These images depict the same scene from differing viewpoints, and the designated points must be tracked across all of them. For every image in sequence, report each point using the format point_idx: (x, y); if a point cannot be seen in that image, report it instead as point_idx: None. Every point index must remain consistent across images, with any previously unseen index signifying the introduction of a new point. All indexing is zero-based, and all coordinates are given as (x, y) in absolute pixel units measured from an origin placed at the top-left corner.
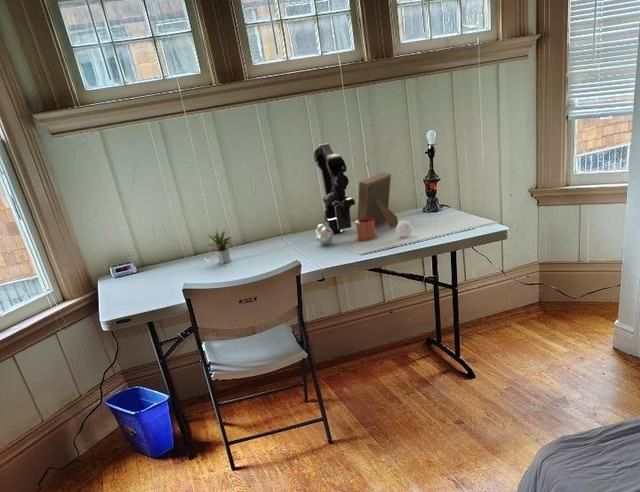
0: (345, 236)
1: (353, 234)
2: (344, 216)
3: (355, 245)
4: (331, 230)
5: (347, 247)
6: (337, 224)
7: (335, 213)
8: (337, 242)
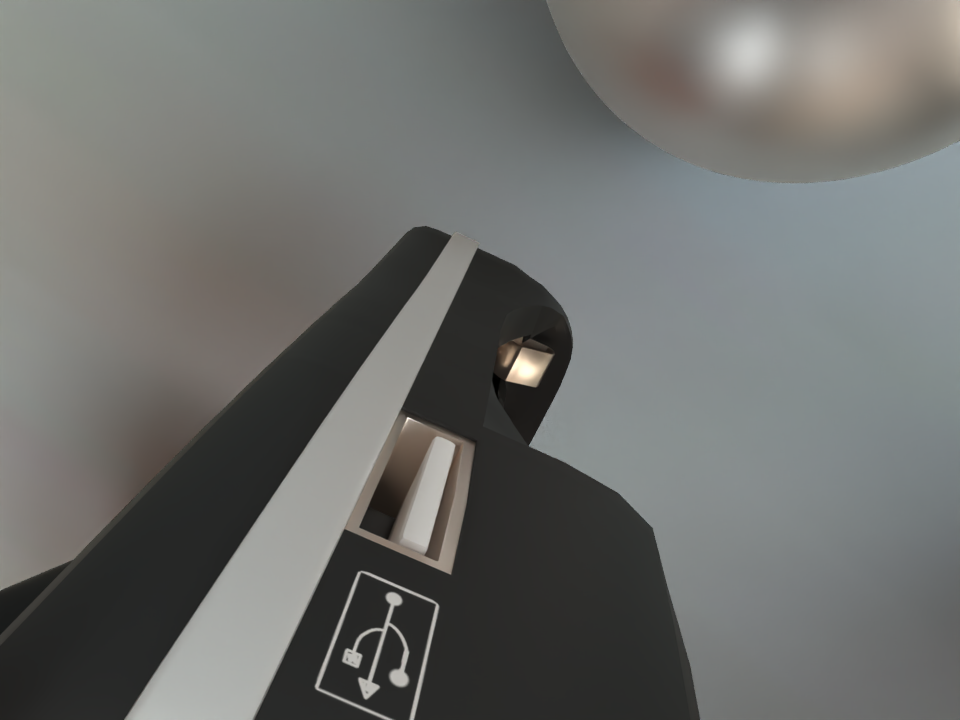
0: (789, 545)
1: (725, 670)
2: (46, 585)
3: (46, 198)
4: (623, 50)
5: (61, 22)
6: (502, 302)
7: (478, 517)
8: (613, 194)
